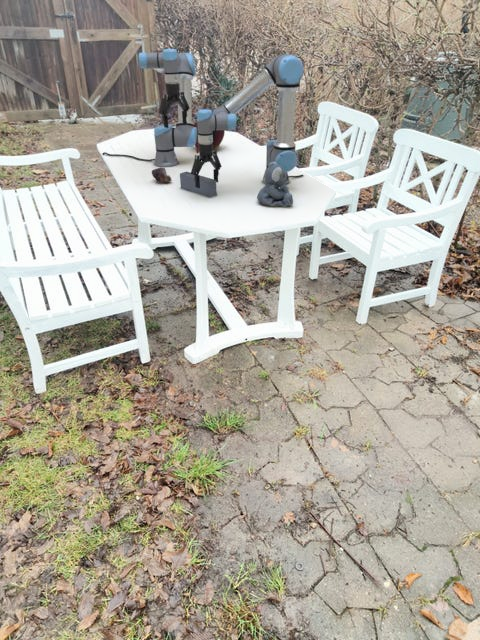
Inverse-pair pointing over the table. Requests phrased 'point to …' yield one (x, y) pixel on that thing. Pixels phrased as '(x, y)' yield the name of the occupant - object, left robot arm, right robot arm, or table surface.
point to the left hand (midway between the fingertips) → (175, 125)
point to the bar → (206, 184)
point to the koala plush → (275, 188)
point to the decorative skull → (217, 137)
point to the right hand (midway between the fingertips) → (207, 184)
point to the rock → (161, 175)
